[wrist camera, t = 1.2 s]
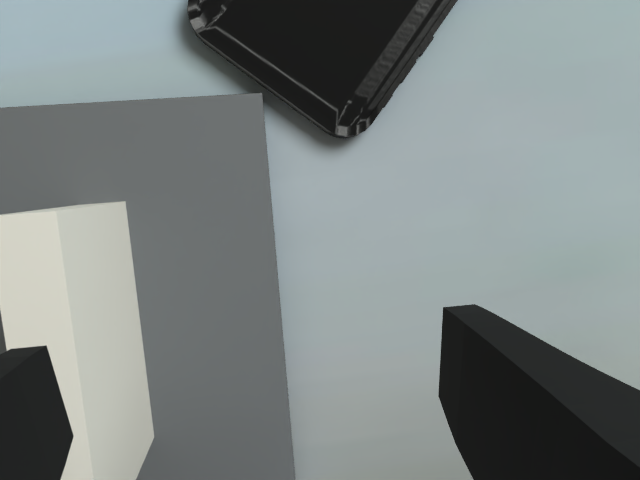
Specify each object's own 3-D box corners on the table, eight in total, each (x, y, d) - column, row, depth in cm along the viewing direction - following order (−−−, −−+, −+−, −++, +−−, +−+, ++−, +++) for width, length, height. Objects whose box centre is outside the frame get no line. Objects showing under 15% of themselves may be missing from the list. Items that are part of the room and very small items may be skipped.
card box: (154, 436, 19) (104, 552, 13) (110, 442, 19) (39, 562, 13) (125, 201, 18) (56, 211, 12) (78, 204, 18) (-15, 216, 12)
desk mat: (296, 493, 21) (297, 502, 20) (-67, 543, 19) (-77, 555, 19) (262, 95, 19) (262, 93, 18) (-146, 119, 17) (-161, 116, 17)
